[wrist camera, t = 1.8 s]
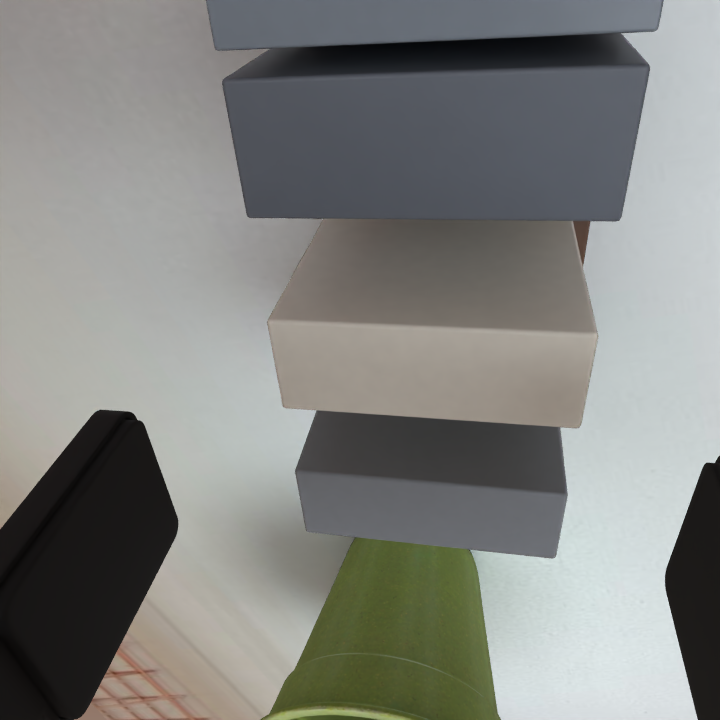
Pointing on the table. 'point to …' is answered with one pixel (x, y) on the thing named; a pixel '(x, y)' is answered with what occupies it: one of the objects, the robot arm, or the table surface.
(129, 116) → the table surface
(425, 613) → the plant pot
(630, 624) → the table surface
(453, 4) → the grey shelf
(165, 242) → the table surface
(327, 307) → the beige box
